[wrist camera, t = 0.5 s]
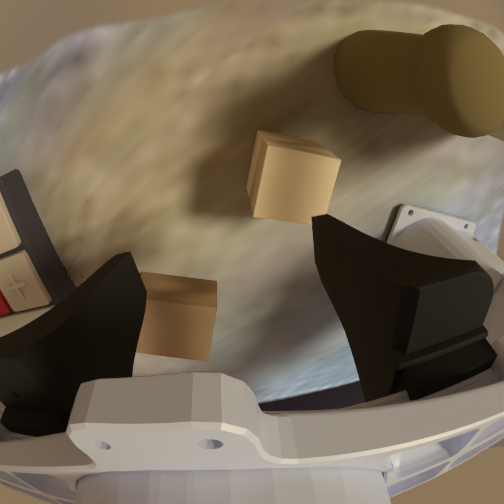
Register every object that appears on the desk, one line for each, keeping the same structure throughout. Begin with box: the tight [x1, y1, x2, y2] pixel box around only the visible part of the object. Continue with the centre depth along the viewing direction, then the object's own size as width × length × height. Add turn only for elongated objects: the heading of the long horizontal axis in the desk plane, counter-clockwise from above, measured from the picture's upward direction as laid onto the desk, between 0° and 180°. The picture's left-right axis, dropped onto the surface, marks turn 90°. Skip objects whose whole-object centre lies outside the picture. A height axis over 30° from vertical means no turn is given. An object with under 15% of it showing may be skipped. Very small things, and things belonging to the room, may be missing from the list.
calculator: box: [0, 169, 77, 337], centre depth 21 cm, size 11×4×15 cm
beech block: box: [246, 130, 341, 225], centre depth 19 cm, size 4×4×5 cm
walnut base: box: [137, 272, 217, 361], centre depth 25 cm, size 6×6×4 cm
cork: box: [334, 24, 504, 138], centre depth 13 cm, size 6×6×11 cm
